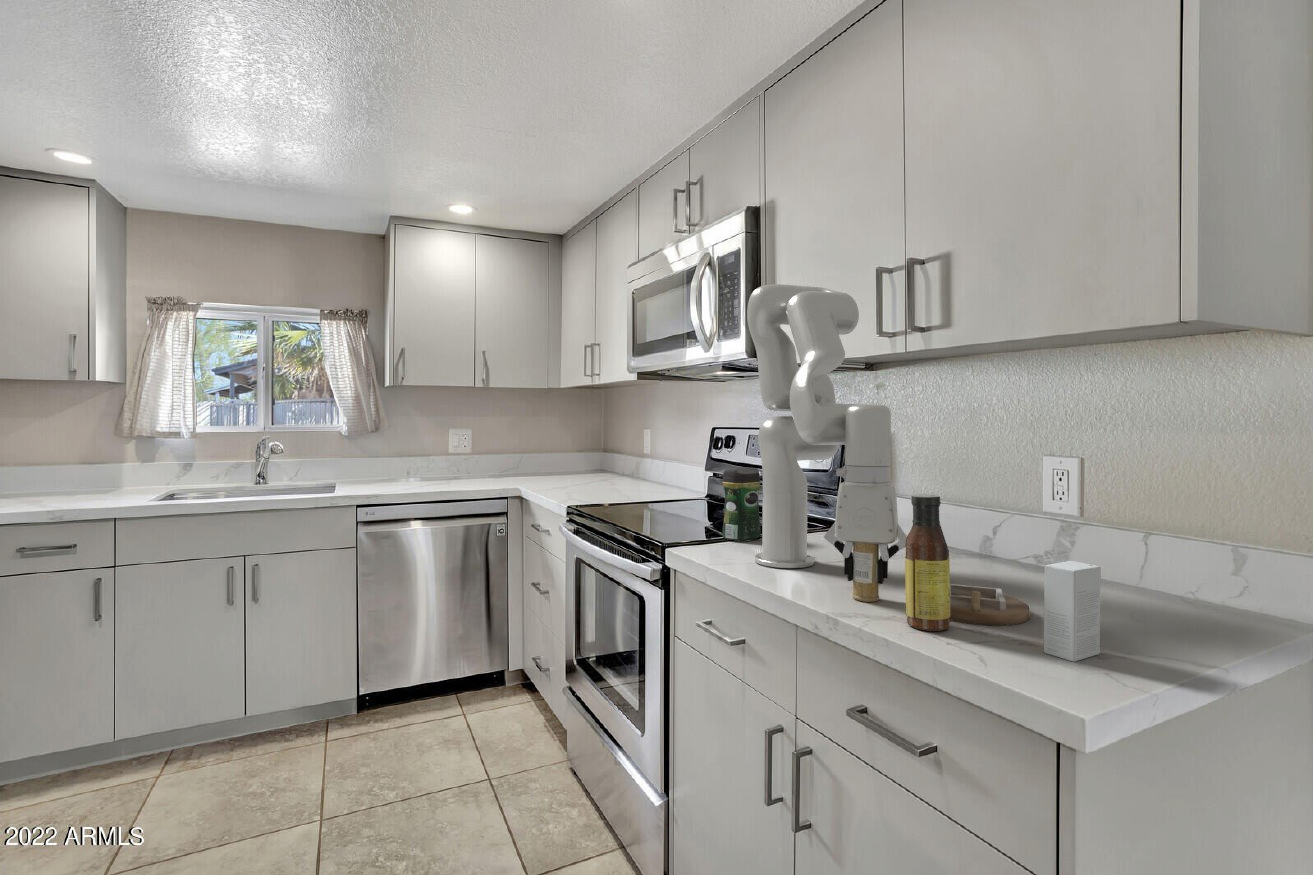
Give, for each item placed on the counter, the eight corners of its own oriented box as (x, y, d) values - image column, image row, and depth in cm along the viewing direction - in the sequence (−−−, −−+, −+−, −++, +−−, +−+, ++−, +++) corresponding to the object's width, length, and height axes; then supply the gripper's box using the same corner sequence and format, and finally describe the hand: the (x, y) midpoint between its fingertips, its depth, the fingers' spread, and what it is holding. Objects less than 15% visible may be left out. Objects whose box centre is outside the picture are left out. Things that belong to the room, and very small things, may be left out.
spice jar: (884, 600, 115) (885, 522, 115) (867, 604, 113) (868, 524, 112) (863, 594, 119) (864, 519, 119) (846, 597, 117) (847, 521, 116)
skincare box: (1067, 645, 93) (1070, 559, 92) (1100, 655, 89) (1102, 566, 89) (1041, 652, 90) (1043, 564, 90) (1073, 662, 86) (1076, 570, 86)
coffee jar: (743, 535, 178) (744, 465, 177) (765, 539, 172) (766, 467, 171) (716, 539, 172) (717, 467, 172) (738, 543, 166) (738, 469, 165)
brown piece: (921, 593, 120) (922, 568, 120) (1023, 603, 114) (1023, 577, 114) (919, 617, 105) (920, 589, 105) (1035, 631, 99) (1036, 600, 99)
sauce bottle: (959, 629, 100) (961, 496, 99) (931, 635, 97) (933, 499, 96) (922, 617, 105) (924, 492, 105) (895, 623, 102) (897, 494, 102)
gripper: (814, 475, 115) (812, 581, 116) (919, 479, 109) (917, 591, 109) (821, 472, 122) (819, 571, 123) (920, 476, 116) (918, 580, 116)
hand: (865, 579), depth 116 cm, fingers closed on spice jar, 4 cm apart
